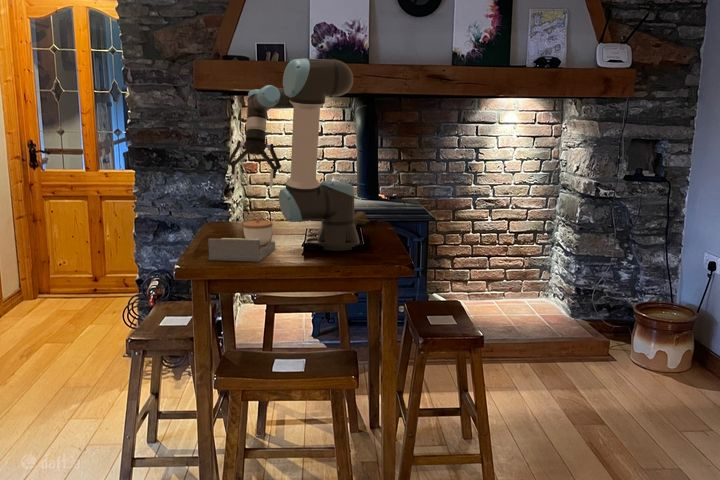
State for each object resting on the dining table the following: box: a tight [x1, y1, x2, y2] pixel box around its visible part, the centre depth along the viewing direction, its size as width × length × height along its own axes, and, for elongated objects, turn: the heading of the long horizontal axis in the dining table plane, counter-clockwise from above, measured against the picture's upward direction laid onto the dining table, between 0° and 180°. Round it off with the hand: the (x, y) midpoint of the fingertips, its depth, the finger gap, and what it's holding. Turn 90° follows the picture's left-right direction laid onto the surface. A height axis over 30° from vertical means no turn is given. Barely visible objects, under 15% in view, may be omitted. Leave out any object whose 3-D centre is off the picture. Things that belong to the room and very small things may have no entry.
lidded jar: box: [242, 217, 273, 246], centre depth 235 cm, size 11×11×9 cm
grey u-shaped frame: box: [207, 237, 276, 263], centre depth 219 cm, size 17×18×7 cm
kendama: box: [354, 210, 370, 228], centre depth 267 cm, size 6×10×20 cm
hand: (253, 185), depth 244 cm, fingers open, 13 cm apart
